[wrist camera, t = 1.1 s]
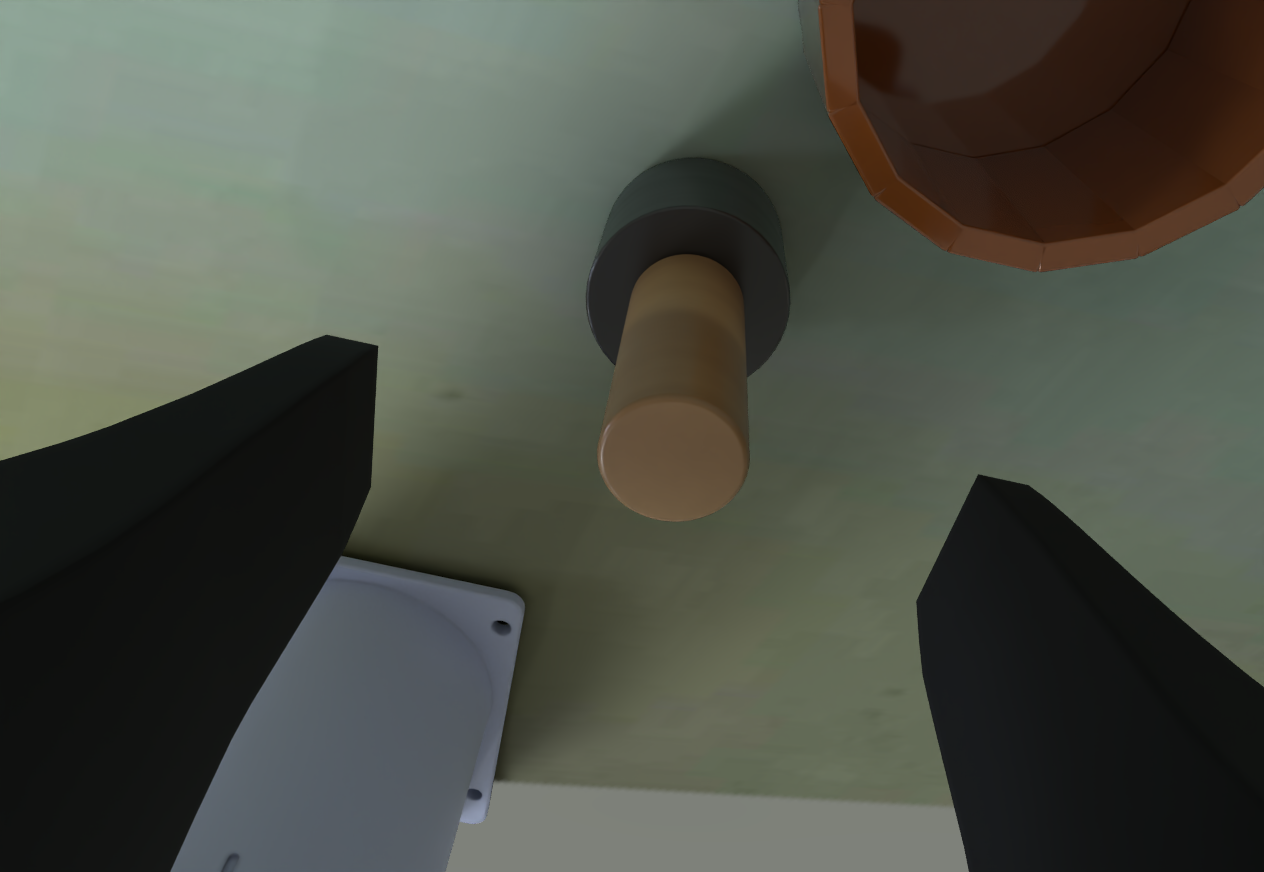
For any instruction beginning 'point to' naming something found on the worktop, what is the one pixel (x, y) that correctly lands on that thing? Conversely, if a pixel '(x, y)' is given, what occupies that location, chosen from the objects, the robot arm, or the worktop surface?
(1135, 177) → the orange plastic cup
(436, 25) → the worktop surface
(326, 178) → the worktop surface
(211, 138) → the worktop surface
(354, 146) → the worktop surface
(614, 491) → the brush
